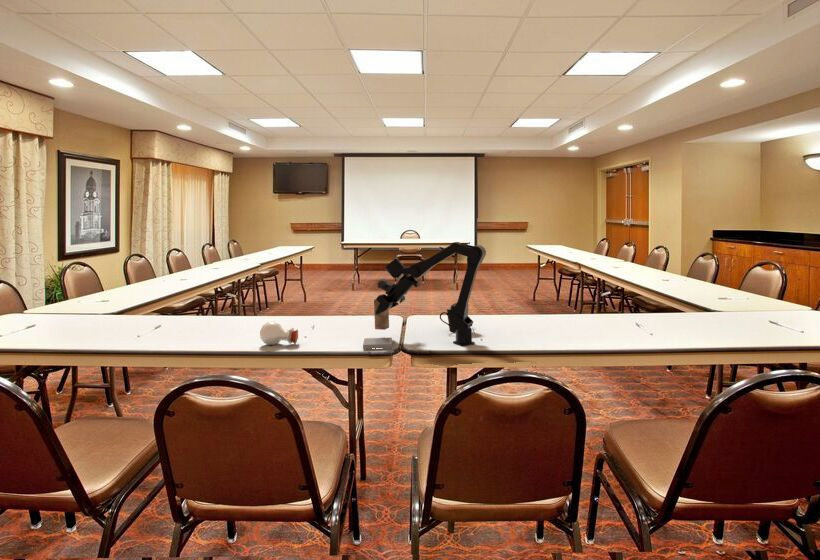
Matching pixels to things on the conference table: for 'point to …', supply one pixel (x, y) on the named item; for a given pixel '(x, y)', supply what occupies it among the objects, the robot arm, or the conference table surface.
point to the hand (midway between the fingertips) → (378, 312)
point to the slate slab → (377, 343)
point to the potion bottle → (277, 334)
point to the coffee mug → (451, 326)
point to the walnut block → (381, 317)
